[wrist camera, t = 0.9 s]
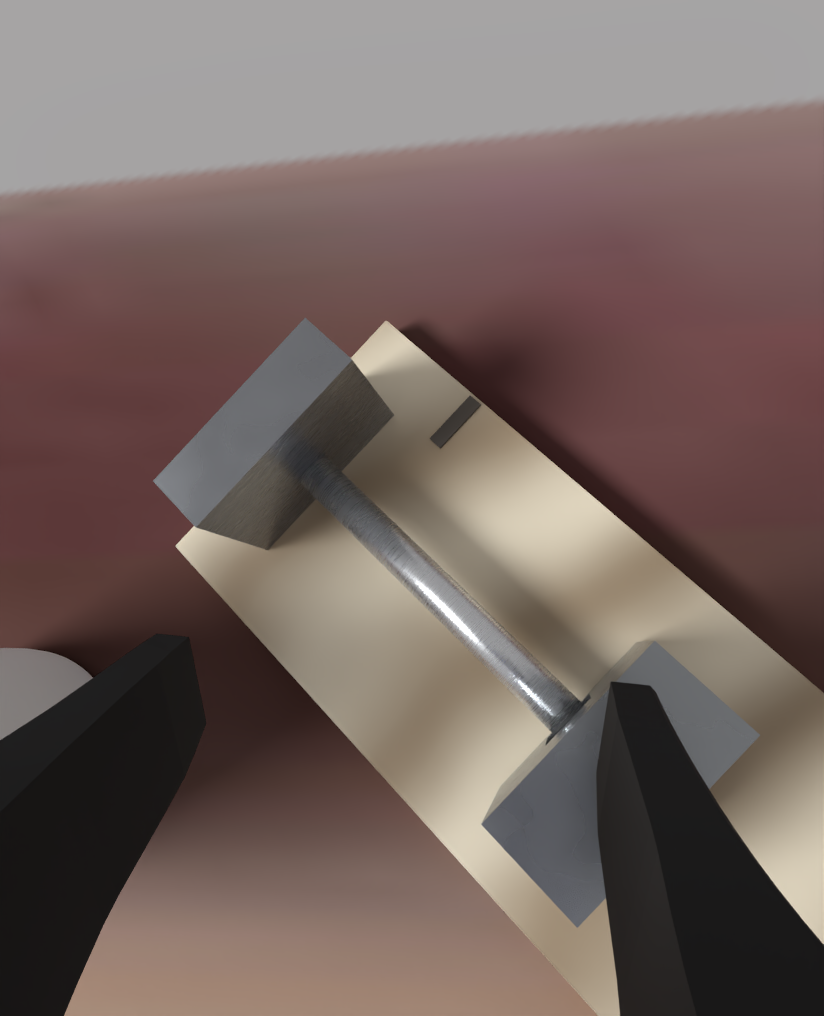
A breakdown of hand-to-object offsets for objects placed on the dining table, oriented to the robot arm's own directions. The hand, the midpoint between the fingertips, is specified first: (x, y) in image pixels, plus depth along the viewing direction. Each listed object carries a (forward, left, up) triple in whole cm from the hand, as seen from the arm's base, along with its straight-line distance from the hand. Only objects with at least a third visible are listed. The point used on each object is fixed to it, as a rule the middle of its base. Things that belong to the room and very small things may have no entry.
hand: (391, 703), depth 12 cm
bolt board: (-1, -1, -12) cm, 12 cm away
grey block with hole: (-4, -1, -11) cm, 12 cm away
